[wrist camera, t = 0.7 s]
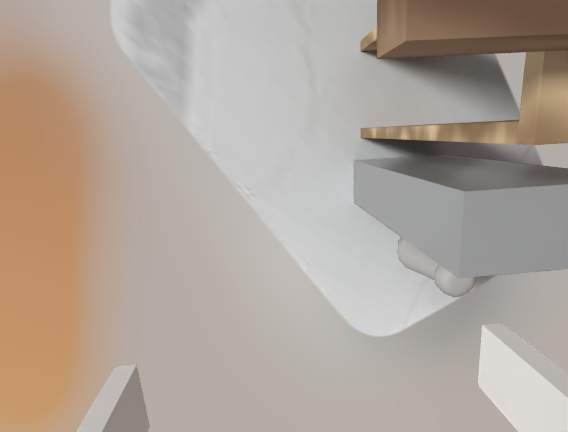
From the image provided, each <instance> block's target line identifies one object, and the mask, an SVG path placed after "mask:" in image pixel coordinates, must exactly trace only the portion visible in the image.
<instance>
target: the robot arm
mask: <svg viewBox="0 0 568 432" xmlns="http://www.w3.org/2000/svg"><path fill="white" fill-rule="evenodd" d="M478 386H479V387H480V388H481V389H482V390H483V391H484V392H485V394H486V395H487V396H488V397H489V398H490V399H491V401H492V402H493V403H494V404H495V405H496V406H497V408H498V409H499V410H500V411H501V412H502V413H503V414H504V416H505V417H506V418H507V419H508V420H509V421H510V422H511V424H512V425H513V426H514V427H515V428H516V429H517V430H518V432H568V374H567V373H565V372H564V371H563V370H561V369H560V368H559V367H557V366H556V365H555V364H554V363H552V362H551V361H550V360H548V359H547V358H546V357H545V356H544V355H542V354H541V353H540V352H538V351H537V350H536V349H535V348H533V347H532V346H531V345H529V344H528V343H527V342H526V341H524V340H523V339H522V338H520V337H519V336H518V335H517V334H515V333H514V332H513V331H512V330H510V329H509V328H508V327H506V326H505V325H504V324H502V323H492V324H484V325H482V337H481V349H480V363H479V377H478ZM148 429H149V421H148V416H147V412H146V407H145V402H144V397H143V392H142V388H141V383H140V378H139V374H138V369H137V364H136V365H128V366H119V367H115V368H114V370H113V371H112V373H111V375H110V376H109V378H108V380H107V381H106V383H105V385H104V386H103V388H102V390H101V391H100V393H99V395H98V396H97V398H96V400H95V401H94V403H93V405H92V406H91V408H90V410H89V411H88V413H87V415H86V416H85V418H84V420H83V421H82V423H81V424H80V426H79V428H78V429H77V431H76V432H148Z"/></svg>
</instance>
